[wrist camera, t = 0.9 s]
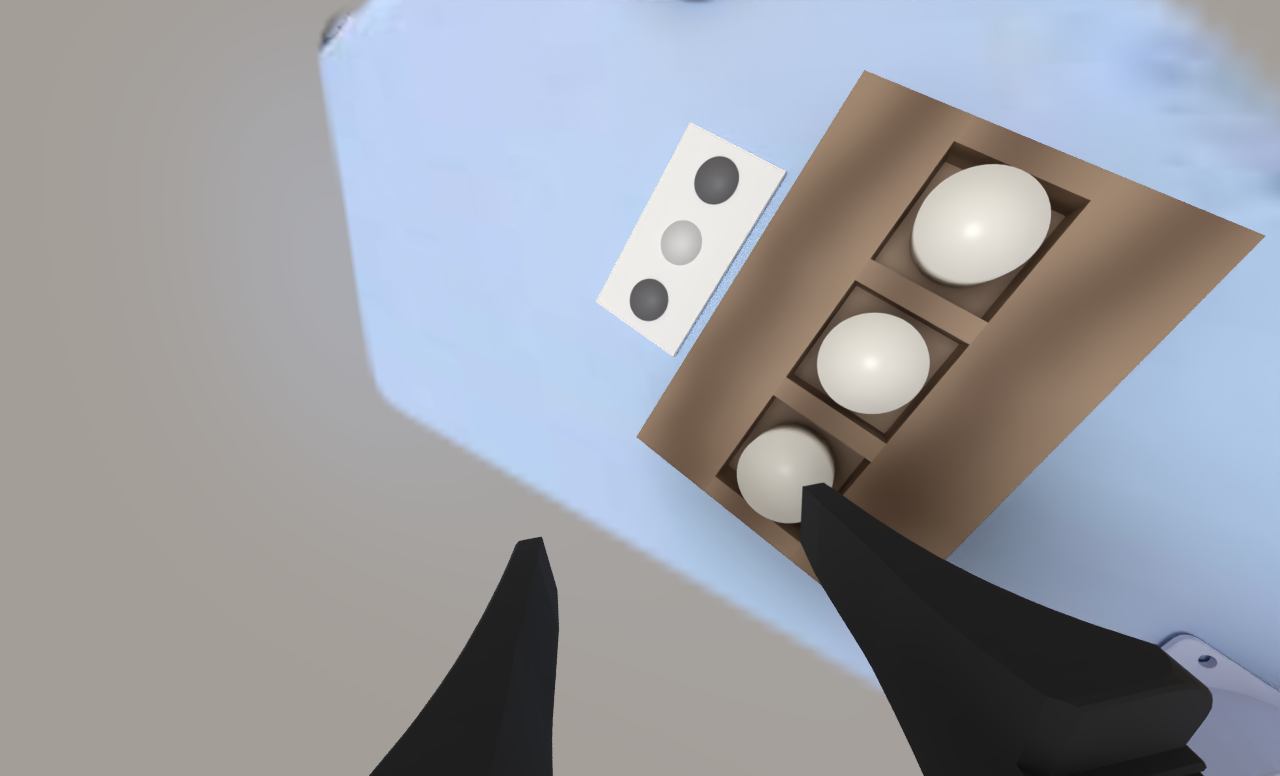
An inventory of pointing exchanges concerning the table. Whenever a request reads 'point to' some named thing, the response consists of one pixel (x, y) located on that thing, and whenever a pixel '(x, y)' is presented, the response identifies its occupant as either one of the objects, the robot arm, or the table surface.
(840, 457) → the button panel
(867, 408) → the middle button
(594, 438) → the table surface
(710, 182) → the card
